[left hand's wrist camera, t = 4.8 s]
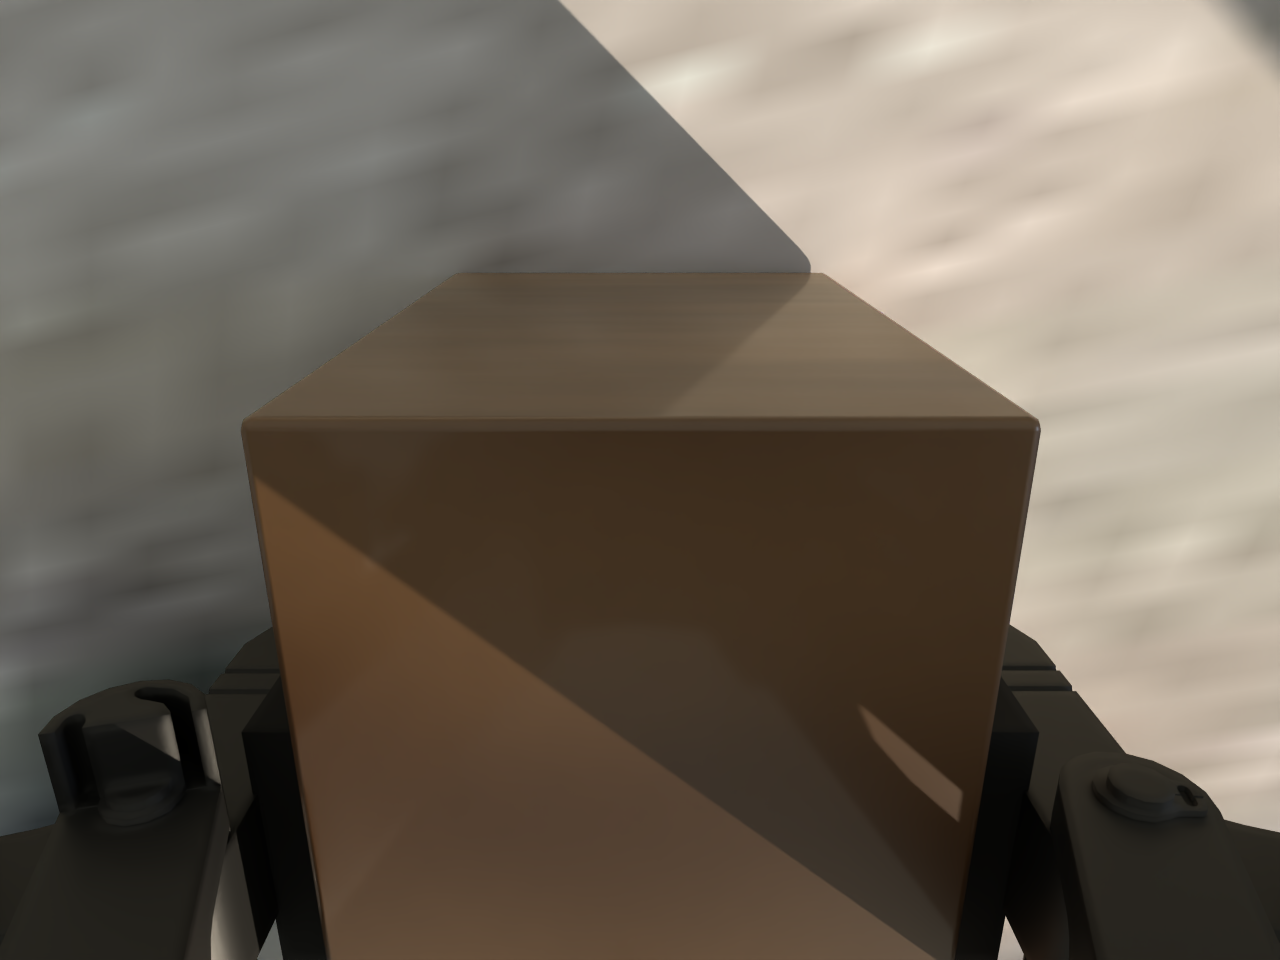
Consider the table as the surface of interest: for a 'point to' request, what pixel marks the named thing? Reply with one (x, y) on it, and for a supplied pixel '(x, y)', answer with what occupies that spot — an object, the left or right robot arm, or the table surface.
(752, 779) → the bar
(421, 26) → the table surface
